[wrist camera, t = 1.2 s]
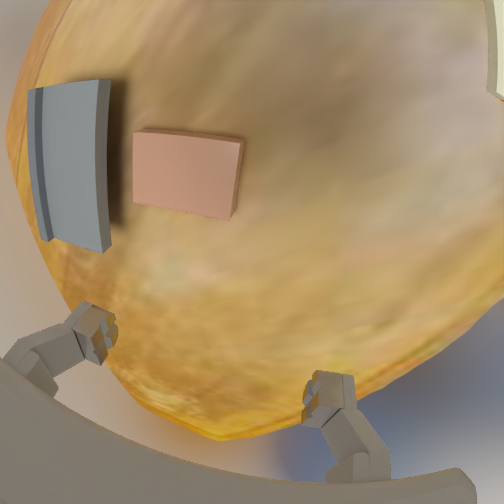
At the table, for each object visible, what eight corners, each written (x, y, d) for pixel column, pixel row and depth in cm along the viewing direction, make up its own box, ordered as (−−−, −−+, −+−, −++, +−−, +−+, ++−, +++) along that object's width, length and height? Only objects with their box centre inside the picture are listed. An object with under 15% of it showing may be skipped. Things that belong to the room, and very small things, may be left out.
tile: (146, 128, 33) (133, 131, 30) (245, 139, 32) (240, 143, 29) (145, 193, 38) (133, 202, 35) (235, 210, 38) (229, 221, 35)
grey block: (69, 83, 29) (28, 90, 22) (133, 78, 29) (90, 79, 21) (73, 215, 42) (41, 239, 35) (127, 229, 42) (97, 259, 34)
